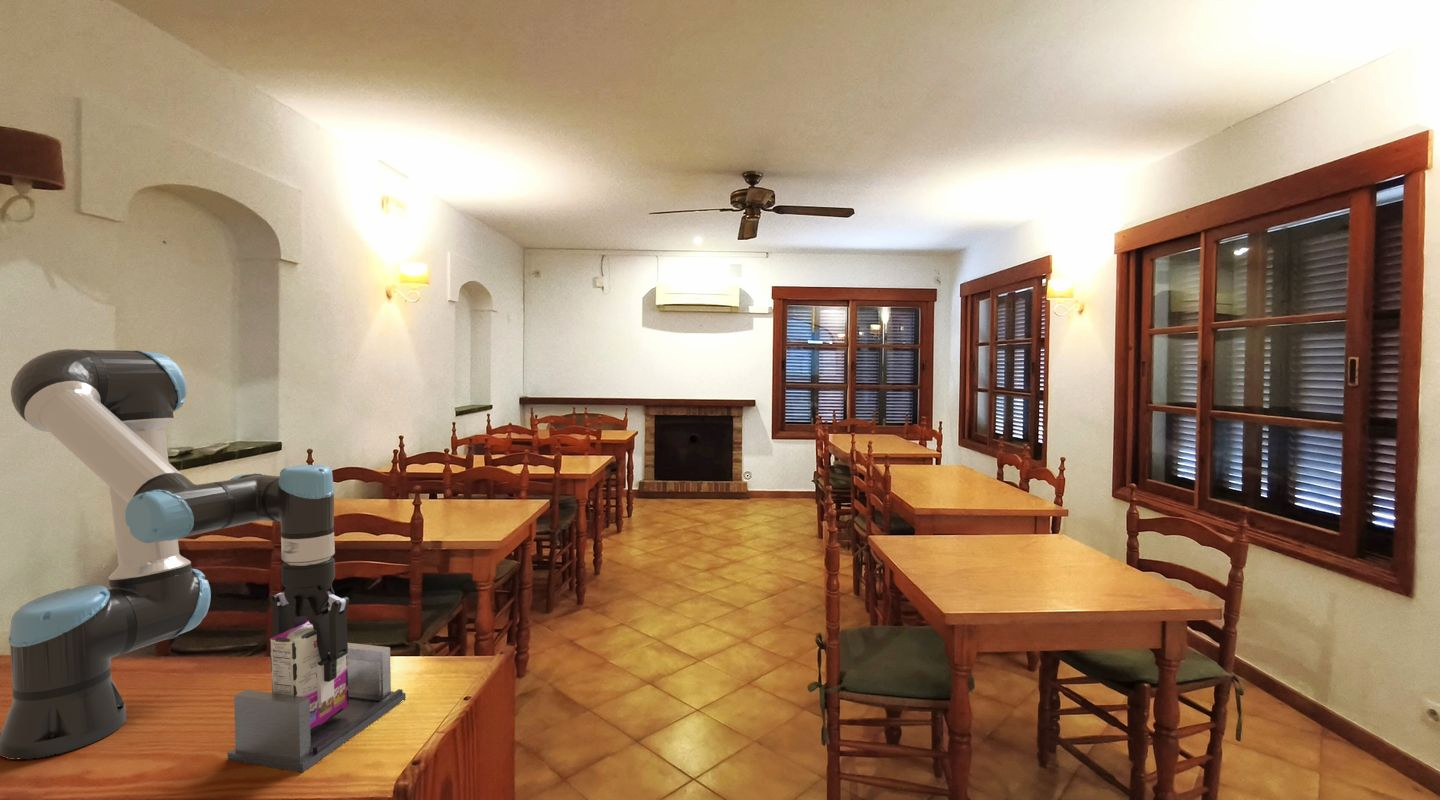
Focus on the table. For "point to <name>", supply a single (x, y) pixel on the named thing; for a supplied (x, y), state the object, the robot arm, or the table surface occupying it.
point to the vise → (296, 728)
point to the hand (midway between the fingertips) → (311, 696)
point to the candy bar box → (306, 672)
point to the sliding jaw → (368, 671)
